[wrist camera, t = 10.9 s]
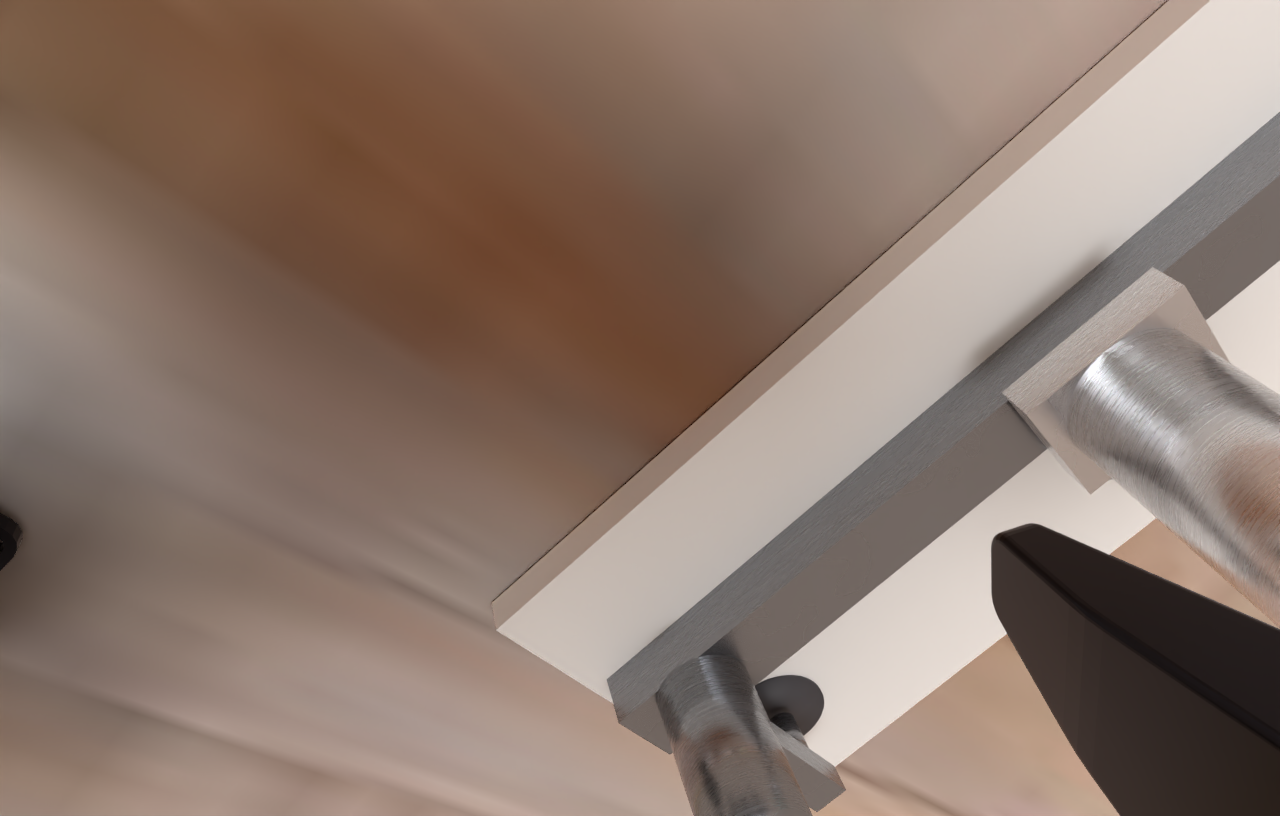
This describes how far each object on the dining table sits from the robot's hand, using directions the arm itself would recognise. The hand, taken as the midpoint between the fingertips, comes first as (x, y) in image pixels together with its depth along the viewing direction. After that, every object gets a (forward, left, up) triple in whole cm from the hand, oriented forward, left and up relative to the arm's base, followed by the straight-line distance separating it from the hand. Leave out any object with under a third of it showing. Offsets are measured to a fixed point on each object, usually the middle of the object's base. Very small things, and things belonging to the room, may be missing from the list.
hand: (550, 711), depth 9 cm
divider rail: (+6, -14, -12) cm, 19 cm away
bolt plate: (+6, -14, -13) cm, 20 cm away
